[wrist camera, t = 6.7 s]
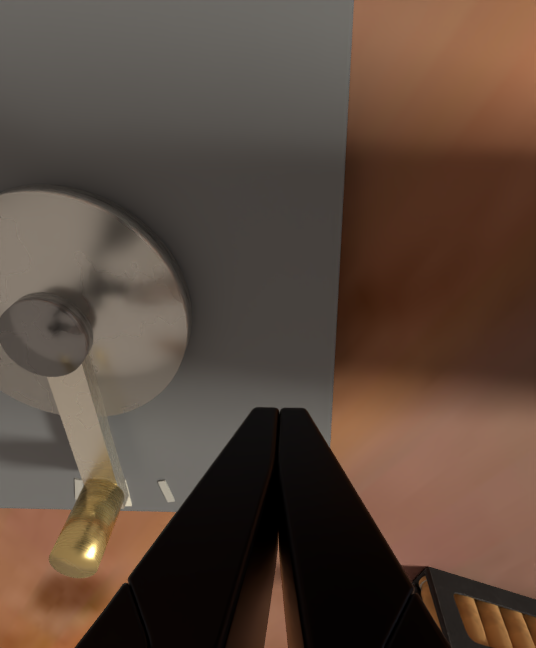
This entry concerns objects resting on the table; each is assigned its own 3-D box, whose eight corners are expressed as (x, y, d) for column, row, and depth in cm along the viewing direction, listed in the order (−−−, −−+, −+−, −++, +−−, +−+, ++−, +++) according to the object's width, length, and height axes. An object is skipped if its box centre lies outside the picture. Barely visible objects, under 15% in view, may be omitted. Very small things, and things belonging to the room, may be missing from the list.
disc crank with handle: (-92, 189, 18) (-236, 239, 13) (173, 179, 17) (125, 227, 12) (28, 476, 25) (-35, 576, 20) (216, 477, 24) (197, 579, 20)
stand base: (-335, -75, 15) (-386, -85, 14) (355, -107, 14) (360, -122, 13) (-49, 489, 28) (-63, 507, 27) (325, 497, 27) (326, 516, 26)
